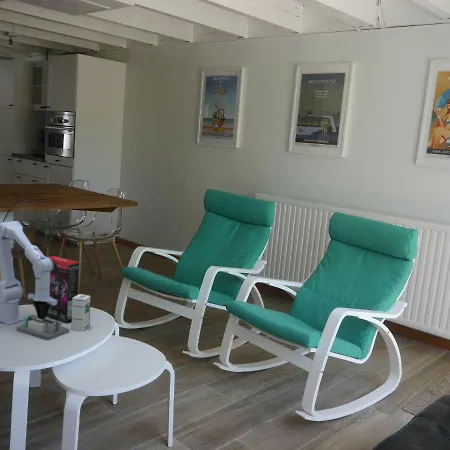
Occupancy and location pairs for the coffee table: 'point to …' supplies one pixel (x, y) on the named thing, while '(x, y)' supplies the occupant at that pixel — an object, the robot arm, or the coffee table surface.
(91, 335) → the coffee table surface
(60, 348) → the coffee table surface
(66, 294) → the graphics card box
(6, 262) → the robot arm
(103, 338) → the coffee table surface
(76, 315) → the syrup box
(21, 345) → the coffee table surface
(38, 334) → the clamp board
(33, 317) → the clamp strap
